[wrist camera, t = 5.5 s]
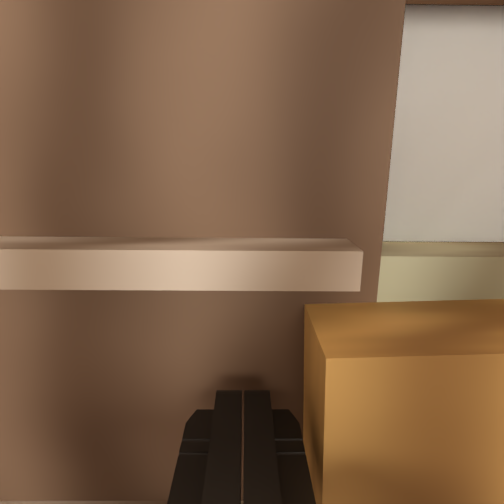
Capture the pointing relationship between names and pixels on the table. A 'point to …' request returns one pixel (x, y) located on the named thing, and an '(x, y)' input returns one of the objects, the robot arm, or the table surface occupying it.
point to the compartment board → (188, 221)
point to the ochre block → (405, 402)
